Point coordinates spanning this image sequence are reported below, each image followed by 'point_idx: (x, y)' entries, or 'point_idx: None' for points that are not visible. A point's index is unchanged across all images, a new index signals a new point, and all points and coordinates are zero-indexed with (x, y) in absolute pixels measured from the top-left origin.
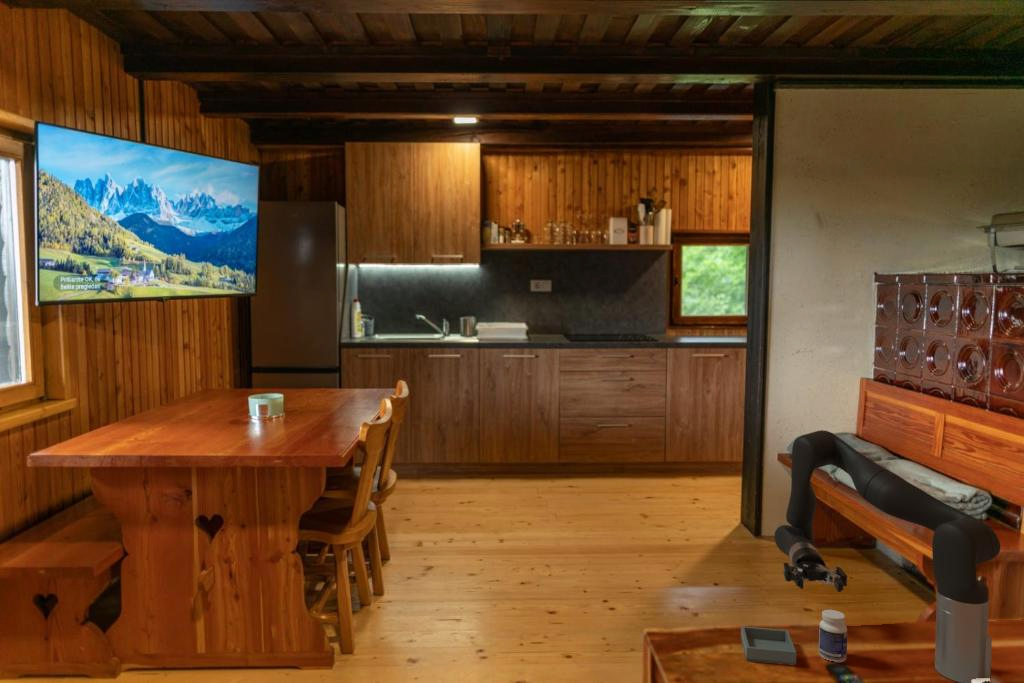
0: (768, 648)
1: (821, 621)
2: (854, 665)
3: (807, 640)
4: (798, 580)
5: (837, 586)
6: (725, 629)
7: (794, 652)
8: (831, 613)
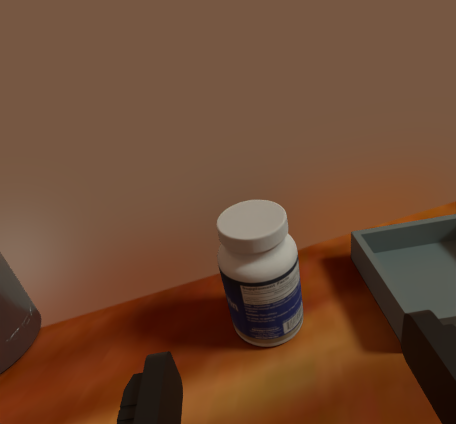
0: (439, 284)
1: (290, 243)
2: (220, 300)
3: (346, 395)
4: (450, 332)
5: (172, 386)
6: None
7: (355, 231)
8: (257, 218)
